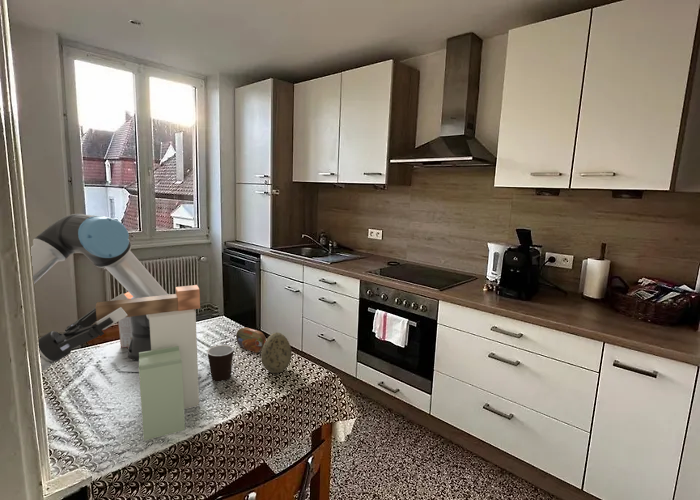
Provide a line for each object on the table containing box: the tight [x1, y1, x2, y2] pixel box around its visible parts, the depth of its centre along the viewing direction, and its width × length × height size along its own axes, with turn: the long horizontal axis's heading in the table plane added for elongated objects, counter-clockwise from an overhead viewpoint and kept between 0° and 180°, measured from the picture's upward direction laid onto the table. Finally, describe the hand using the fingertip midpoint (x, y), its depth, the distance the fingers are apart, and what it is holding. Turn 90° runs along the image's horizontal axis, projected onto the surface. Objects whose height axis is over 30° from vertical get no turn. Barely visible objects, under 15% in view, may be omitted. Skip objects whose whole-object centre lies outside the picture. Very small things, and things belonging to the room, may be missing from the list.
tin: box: [235, 327, 267, 354], centre depth 155 cm, size 15×3×8 cm, turn 58°
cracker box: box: [117, 291, 134, 349], centre depth 157 cm, size 14×6×21 cm, turn 5°
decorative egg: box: [260, 332, 293, 374], centre depth 137 cm, size 11×11×15 cm
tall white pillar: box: [149, 309, 200, 410], centre depth 115 cm, size 12×10×30 cm
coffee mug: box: [206, 344, 235, 383], centre depth 134 cm, size 12×9×10 cm
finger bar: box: [95, 284, 201, 322], centre depth 109 cm, size 26×5×6 cm, turn 120°
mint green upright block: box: [138, 346, 186, 442], centre depth 104 cm, size 10×9×21 cm
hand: (125, 303), depth 106 cm, fingers open, 13 cm apart
